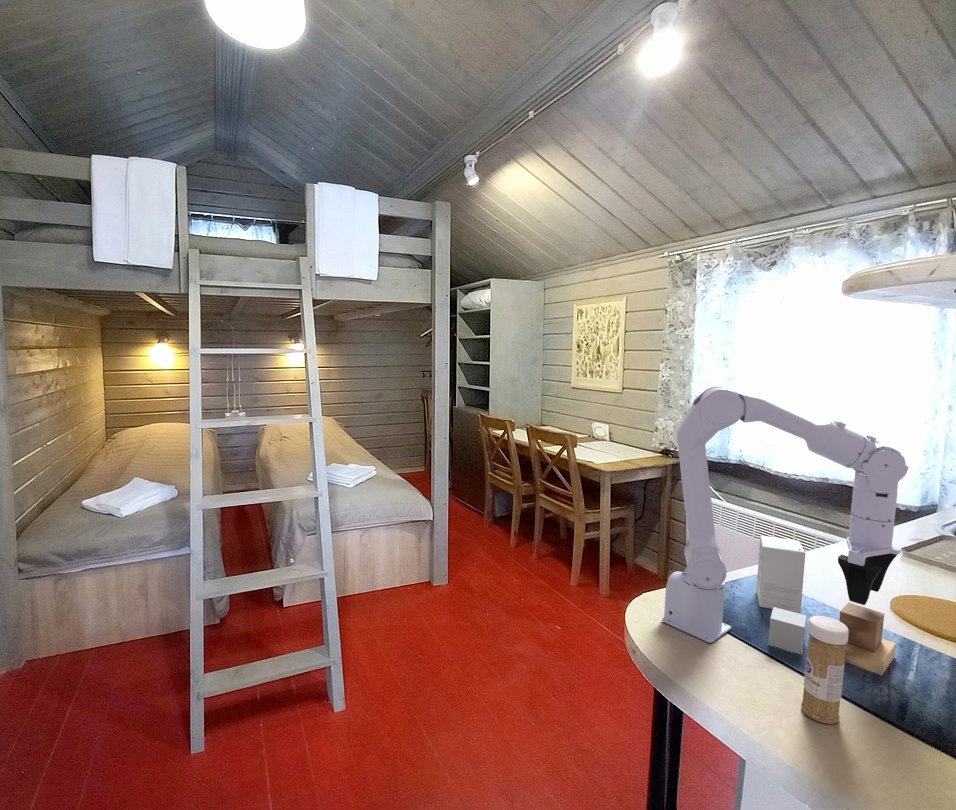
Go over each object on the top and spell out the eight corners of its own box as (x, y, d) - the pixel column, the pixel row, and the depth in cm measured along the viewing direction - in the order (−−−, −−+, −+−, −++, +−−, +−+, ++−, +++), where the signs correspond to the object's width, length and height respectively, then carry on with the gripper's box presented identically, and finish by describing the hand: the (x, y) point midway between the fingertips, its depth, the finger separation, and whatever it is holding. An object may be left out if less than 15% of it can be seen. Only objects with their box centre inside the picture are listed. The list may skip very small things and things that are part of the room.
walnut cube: (837, 639, 87) (840, 611, 86) (845, 629, 90) (848, 602, 89) (874, 652, 83) (877, 623, 82) (881, 642, 86) (884, 613, 86)
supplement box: (795, 599, 106) (800, 540, 105) (801, 615, 100) (806, 552, 99) (755, 591, 110) (759, 534, 108) (757, 607, 103) (762, 545, 102)
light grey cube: (768, 645, 89) (770, 618, 89) (771, 633, 93) (773, 606, 93) (802, 655, 86) (804, 627, 86) (803, 642, 90) (806, 615, 90)
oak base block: (823, 655, 87) (824, 638, 87) (838, 639, 92) (839, 623, 92) (881, 678, 81) (883, 661, 81) (894, 660, 86) (895, 643, 86)
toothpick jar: (793, 704, 74) (801, 614, 73) (822, 702, 74) (831, 613, 73) (817, 727, 69) (826, 632, 68) (848, 725, 70) (857, 631, 69)
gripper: (891, 532, 77) (882, 619, 78) (913, 514, 86) (905, 592, 87) (835, 519, 82) (828, 601, 83) (862, 504, 91) (855, 577, 93)
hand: (864, 595), depth 86 cm, fingers open, 7 cm apart
